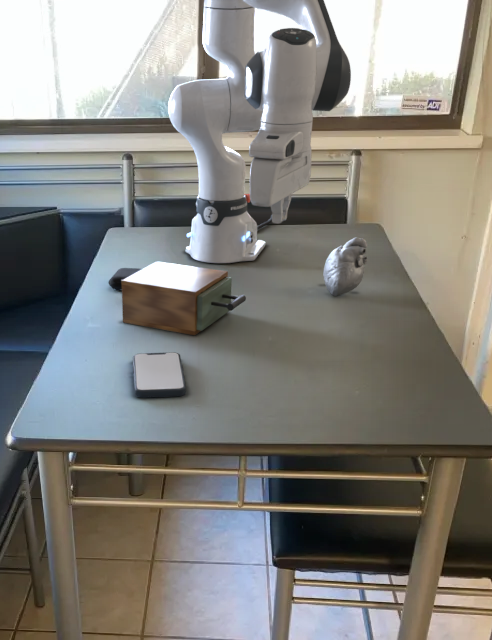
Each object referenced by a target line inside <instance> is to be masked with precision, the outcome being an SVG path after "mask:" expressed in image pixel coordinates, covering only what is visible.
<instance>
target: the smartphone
mask: <svg viewBox="0 0 492 640" xmlns="http://www.w3.org/2000/svg"><path fill="white" fill-rule="evenodd" d="M132 373H133V384H134V395H135V397H138V398H140V399H141V398H142V399H143V398H144V399H145V398H166V397H167V398H169V397H182V396H185V395H186V392H187V386H186V381H185V376H184V368H183V364H182V357H181V354H180V353H179V352H176V351H170V352H169V351H168V352H144V353H142V352H141V353H135V354H134V355H132Z"/></svg>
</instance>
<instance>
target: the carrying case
mask: <svg viewBox="0 0 492 640" xmlns="http://www.w3.org/2000/svg"><path fill="white" fill-rule="evenodd" d="M142 269H143V268H139V267H138V268H137V267H121V268H119V269H117V271H116V272H115V273H114V274H113V275H112V276H111V278H110V279H109V280H108V285H109V286H110V287H111V289H113V290H115V291H122V283H121V281H122V280H123V279H125V278H127V277H129V276H131V275H133V274H135V273H136V272H138V271H140V270H142Z"/></svg>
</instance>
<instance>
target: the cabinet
mask: <svg viewBox="0 0 492 640" xmlns="http://www.w3.org/2000/svg"><path fill="white" fill-rule="evenodd" d="M141 269H142V270H140V271H138V272H136V273H135V274H133V275H131V276H129V277H127V278H125V279H123V280H122V281H121V283H122V290H121V304H122V308H121V309H122V323H124V324H130V325H136V326H141V327H145V328H153V329H157V330H163V331H168V332H174V333H180V334H185V335H190V336H196V335H197V334H199V333H200V332H201V331H200V330H196V328H197V295H198V294H199V293H201V292H203V291H204V290H206V289H207V288H209V287H210V286H212V285H213V284H215V283H217V282H218V281H221V280H223V279H224V278H226V277H229V276H228V275H229V271H227V270H222V269H221V270H219V269H214V268H207V267H199V266H193V265H185V264H179V263H178V264H177V263H171V262H164V261H157V260H156V261H155V262H153V263H151V264H149V265H147V266H146V267H144V268H141Z"/></svg>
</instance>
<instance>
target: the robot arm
mask: <svg viewBox="0 0 492 640" xmlns="http://www.w3.org/2000/svg"><path fill="white" fill-rule="evenodd" d="M257 10H260V11H261V10H262V11H265V12H271V13H274V14H278V15H280V16H283V17H286V18H288V19H290V20H292V21H294V22H295V23H296V24H297V25H298V26H299V27H300V28H298V27H286V28H280V29H277V30H274V31H273V32H272V33H270V35H269V37H268V41H267V46H266V48H265V49H262V50H261V51H256V43H255V42H256V41H255V40H256V37H255V35H256V34H255V33H256V31H255V30H256V11H257ZM202 24H203V25H202V45H203V48H204V51H205V52H206V53H207V55H208V56H209V57H211V58H212V59H214V60H216V61H217V62H219V63H221V64H223V65H224V66H226V69H227V75H226V76H227V77H224V78H211V79H210V78H209V79H195V80H191V81H188V82H184V83H180V84H177V85H176V86H175V88H174V89H173V91H172V92H171V94H170V97H169V100H168V104H167V105H168V106H167V111H168V117H169V120H170V122H171V125H172V126H173V128H174V129H175V130H176V131H177V132H178V133H180V135H182V137H184V138H185V140H187V142H188V143H189V145H190V146H191V148H192V150H193V152H194V155H195V158H196V163H197V173H198V175H197V176H198V195H197V196H196V202H195V206H196V210H195V211H196V215H195V216H194V217H193V218H192V219H191V229H190V232H188V233H186V237H187V238H190V241H189V246H186V247H185V250H184V251H185V253H186V254H188V255H190V257H191V258H192V259H193V260H196V261H198V262H202V263H209V264H210V263H211V264H231V263H238V262H251V261H255V260H256V259H257V257H258V255H260V254H261V252H262V251H263V250H264V248H265V247H266V241H264V240H262V239H259V238H258V230H260V229H262V228H264V227H266V226H268V225H269V224H271V223H272V224H278V225H279V224H282V223H283V222H284V221H286V220H288V219H287V218H288V210H289V207H290V205H291V201H292V196H293V195H292V194H294V193H296V192H298V191H299V190H302V189H304V188H305V187H307V186H308V185H309V183H310V180H311V174H312V153H313V152H312V146H311V144H312V133H313V132H312V131H313V121H314V116H313V111H315V112H331V111H332V110H333V109H335V108H336V107H338V105H340V103H341V102H342V101H343V100H344V99H345V98H346V96H347V95H348V93H349V91H350V87H351V82H352V70H351V69H352V68H351V63H350V60H349V57H348V56H347V53H346V52H345V50H344V49H343V47H342V45H341V44H340V41H339V39H338V37H337V34H336V31H335V28H334V25H333V22H332V20H331V16H330V14H329V11H328V8H327V6H326V2H325V0H203V21H202ZM255 131H258V132H257V134H256V136H255V137H254V138H253V140H252V141H251V142H250V143H249V148H248V156H249V157H250V158H252V160H251V162H250V167H249V168H250V169H249V193H246V192H245V191H246V172H247V169H246V168H247V164H246V161H245V159H244V157H243V156H242V155H241V154H240V153H238V152H237V151H235V150H234V149H232V148H230V147H227V146H226V145H224V143H223V134H226V133H245V132H255ZM248 203H251V205H252V206H255V207H265V208H270V211H271V215H270V217H269V219H268V220H267V221H264V222H263V223H261V224H257V221H256V220H255V219H254V218H253V217H252V216H251V215H250V214H249V212H248Z"/></svg>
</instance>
